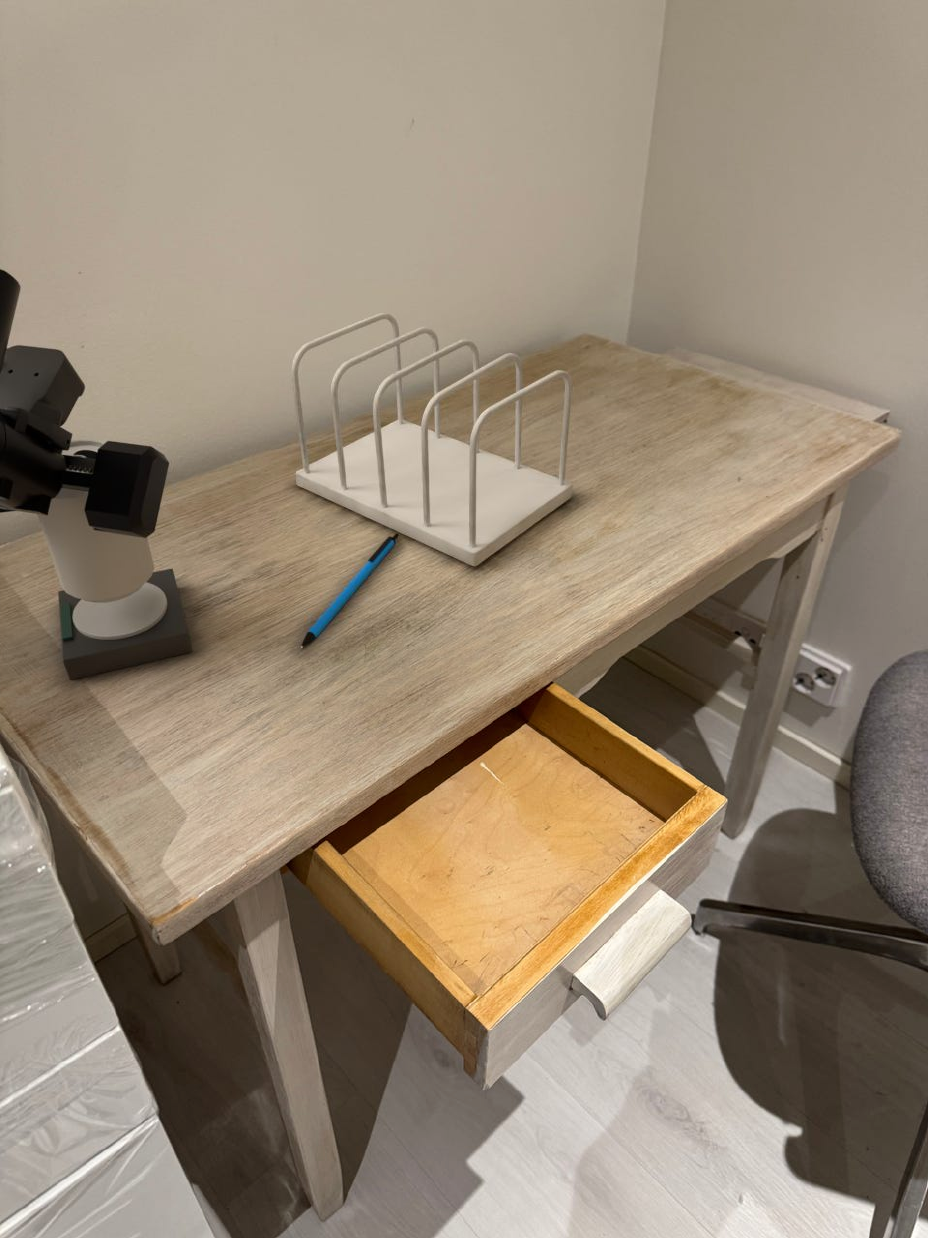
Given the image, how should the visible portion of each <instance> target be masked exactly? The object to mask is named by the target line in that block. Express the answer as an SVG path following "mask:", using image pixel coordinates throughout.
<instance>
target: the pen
mask: <svg viewBox="0 0 928 1238" xmlns="http://www.w3.org/2000/svg"><path fill="white" fill-rule="evenodd" d="M398 537H399V532H396V533H394V534H393V536H391V535H389V536H388V537H387V538H386V539H385V540H383V542H382V543H381V545H380V546H379V547H378V548H377V549H376V550H375V551H374V553H373V554H372V555H371V556H370V557H369V559H368V560H367V562H366V563H365V565H363V567H362V568H361V569H360V570H359V571H358V573H356V575H355V576H354V578H352V579H351V581H350V582H349V583H348V584H347V585H346V586H345V588H344V589H343V590H342V592H340V594H339V595H338V596H337V597H336V598H335V600H334V601H333V602H332V603H331V604H330V605H329V607H328V608H327V609H326V610H325V611H324V612H323V613H322V615H320V617H319V618H318V619H317V620H316V622H315V623H314V624H313V625H312V626H311V627H310V628H309V630H308V631H307V632H306V633H305V636H304V638H303V640H302V642H301V645H300V649H303V648H305V647H306V646H307V645H309V644H311V642H313V641H314V640H316V639H317V638H318V636H319V635H320V634H321V633H322V631H323V630H324V629H325V628H326V627H327V626H328V625H329V623H330V622H331V621H332V620H333V619H334V617H335V616H336V615H337V614H338V612H339V611H340V610H341V609H342V608H343V607H344V606H345V604H346V603H347V602H348V601H349V599H350V598H351V597H352V596H353V595H354V594H355V592H356V591H357V590H358V589H359V588H360V587H361V585H362V584H363V583H364V582H365V581H366V580H367V578H368V577H369V576H370V575H371V573H372V572H374V570H375V569H376V567H378V565H380V563H381V562H382V560H383V559H384V558H385V557H386V555H387V554H388V553H389V552H390V551H391V550H392V548H393V547H394V546H395V545H396V540H397V538H398Z"/></svg>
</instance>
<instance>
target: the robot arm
mask: <svg viewBox="0 0 928 1238" xmlns="http://www.w3.org/2000/svg"><path fill="white" fill-rule="evenodd" d="M21 287H22V286H21V284H20V282H19V281H18V280H17V279H16V278H15V277H14V276H13V275H11V274H10V273H9V272H7V271H6V270H4V269H2V268H0V514H1V513H10V512H11V513H12V512H21V513H27V514H28V513H29V514H35V515H37V514H41V515H48V512H49V508H50V503H51V501H52V499H54V498H55V497H56V496H57V495H58V493H59V492H60V490H61V488H66V489H73V490H80V491H87V492H88V496H87V500H86V505H85V509H84V510H85V514H86V517H87V521H88V524H89V526H91V527H93V530H97V531H103V532H110V533H115V534H122V535H129V536H135V537H142V538H147V539H148V537H149V536H150V535H152V534H154V533H155V531H156V527H157V523H158V518H159V512H160V508H161V502H162V499H163V495H164V494H163V493H164V490H165V485H166V481H167V480H166V479H167V476H168V472H169V467H170V462H169V460H168V458H167V457H166V456H165V454H164V453H163V452H160V451H159V450H158V449H156V448H155V447H153V446H152V445H151V446H150V445H145V444H136V443H128V442H122V441H121V442H120V441H115V440H113V441H112V440H106V441H107V442H106V443H105V444H103V445H102V446H101V447H100V448H99V449H98V451H97V456H96V458H95V459H92V458H84V457H77V456H70V455H62V451H63V450H66V451H68V450H69V448H70V443H71V439H73V432H71V431H68V430H67V429H65V428H63V427H62V426H63V425H65V424H66V422H67V420H68V419H69V416H70V414H71V413H72V411H73V409H74V408H75V405H76V404H77V401H78V400H79V398H80V397H82V396H83V395H84V392H85V389H86V385H85V382H84V381H83V380H82V378H81V377H80V375H79V374H78V372H77V371H76V369H75V367H74V366H73V365H72V363H71V361H70V360H69V359H68V357H67V355H66V354H65V353H64V351H62V350H61V349H56V348H49V347H48V348H47V347H39V346H30V345H20V344H17V345H12V346H10V347H8V345H9V340H10V336H11V332H12V327H13V323H14V319H15V315H16V310H17V306H18V302H19V299H20V293H21ZM67 468H68V470H71V471H67ZM72 469H73V470H74V471H77V470H78V471H79V472H74V471H72ZM82 471H83V472H85V473H81V472H82ZM87 471H88V472H89V473H92V472H93V474H88V473H86V472H87Z"/></svg>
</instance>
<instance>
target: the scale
mask: <svg viewBox="0 0 928 1238" xmlns="http://www.w3.org/2000/svg"><path fill="white" fill-rule="evenodd" d="M176 580H177V579H176V577H175V571H174V568H167V569H162V570H157V571H153V573H152V576H151V577H150V578H149V579H148V580H147V582H146V583H145V584H144V585H143V586H142V587H141V588H140V589H139V590H138V591H137V592H135V593H134V594H132V595H130V596H128V597H126V598H123V599H121V600H117V601H112V602H107V603H94V602H88V601H84V600H82V599H79V598H75V597H73V596H71V595H69V594H67V593H66V592H65V591H64V589H63V590H59V591H58V592H57V598H58V611H59V626H60V639H61V655H62V663H63V666H64V668H65V671H66V673H67V676H68V679H69V680H70V681H73V680H76V679H80V678H81V679H82V678H84V677H90V676H94V675H97V674H102V673H107V672H111V671H114V670H115V671H116V670H119V669H124V668H128V667H133V666H137V665H142V664H145V663H151V662H154V661H155V662H156V661H159V660H163V659H167V658H171V657H176V656H181V655H184V654H190V653H193V647H192V642H191V638H190V633H189V630H188V626H187V621H186V617H185V614H184V609H183V605H182V601H181V597H180V592H179V589H178V584H177V581H176Z"/></svg>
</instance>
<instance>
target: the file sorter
mask: <svg viewBox="0 0 928 1238" xmlns="http://www.w3.org/2000/svg"><path fill="white" fill-rule="evenodd" d="M381 320H387V321H389V323H390V324H391V328H392V333H393V339H391V340H389V341H387V342H384V343H383V344H381V345H378V346H376V347H373V348H372V349H369V350H366V351H365V352H363V353H361V354H359V355H357V356H354V357H352V358H350V359H348V360H346V361H344V362H343V363H342V364H341V365H340V366H339V367H338V368H337V369H336V371H335V372H334V375H333V378H332V380H331V385H330V400H331V401H330V402H331V410H332V411H331V412H332V420H333V429H334V437H335V445H336V450H335V451H333V452H331V453H329V454H328V455H326V456H324V457H322V458H320V459H318V460H316V461H313V462H312V463H310V464H309V455H308V446H307V439H306V431H305V422H304V415H303V406H302V400H301V390H300V381H299V367H300V362H301V360H302V358H303V357H304V356H305V354H306V353H307V352H308V351H310V350H311V349H315V348H316V347H319V346H321V345H323V344H325V343H328V342H330V341H333V340H335V339H338V338H340V337H342V336H345V335H347V334H349V333H352V332H354V331H357V330H359V329H362V328H364V327H367V326H369V325H372V324H374V323H377V322H379V321H381ZM424 334H427V335H428V336H429V337H430V339H431V341H432V350H433V351H432V353H431V354H429V355H427V356H425V357H423V358H421V359H419V360H418V361H416V362H413V363H412V364H409V365H408V366H406V367H404V368H402V363H401V362H402V361H401V360H402V359H401V344H403V343H406V342H407V341H409V340H412V339H414V338H416V337H418V336H421V335H424ZM463 347H468V348H469V349H470V351H471V353H472V372H471V373H469V374H468V375H466V376H464V377H462V378H461V379H459V380H457V381H455V382H454V383H452V384H450V385H449V386H447V387H445V388H443V389H442V390H440V389H441V387H440V386H441V385H440V359H441V358H443V357H445V356H447V355H449V354H451V353H453V352H455V351H457V350H459V349H461V348H463ZM392 348H393V350H394V368H395V369H394V370H395V372H394V373H392V374H391V375H388V376H387V377H386V378H384V380H383V381H382V382H381V383H380V385H379V386H378V388H377V390H376V392H375V395H374V398H373V403H372V418H373V430H374V431H373V432H371V433H369V434H367V435H365V436H362V437H361V438H358V439H356V440H355V441H353V442H351V443H349V444H347V445H345V446H344V445H343V435H342V427H341V419H340V405H339V398H338V397H339V395H338V392H339V391H338V390H339V389H338V388H339V384H340V380H341V379H342V376H343V375H344V374H345V373H346V372H347V371H348V370H349V369H350V368H351V367H354V366H356V365H358V364H361V363H362V362H365V361H367V360H368V359H371V358H374V357H375V356H378V355H379V354H382V353H384V352H386V351H388V350H391V349H392ZM479 353H480V352H479V349H478V347H477V344H475V342H474V341H473V340H470V339H467V338H463V339H460V340H457V341H456V342H453V343H451V344H449V345H447V346H446V347H443V348H441V349H440V345H439V338H438V335H437V333H436V332H435V331H434V330H433V329H432V328H430V327H427V326H421V327H417V328H416V329H413V330H411V331H409V332H407V333H404V334H402V335H400V329H399V323H398V322H397V320H396V318H395V317H394V316H393V315H392V314H389V313H387V312H380V313H377V314H374V315H371V316H369V317H367V318H365V319H361V320H360V321H357V322H355V323H352V324H349V325H346V326H344V327H342V328H340V329H337V330H335V331H332V332H330V333H328V334H325V335H322V336H320V337H318V338H315V339H312V340H309V341H308V342H306V343H305V344H303V345H302V346H301V347H300V348H299V349H298V350H297V351H296V353H295V355H294V357H293V360H292V364H291V373H290V375H291V384H292V392H293V399H294V408H295V416H296V423H297V431H298V439H299V446H300V447H299V448H300V454H301V462H302V468H300V469H299V470H297V471H295V480H296V481H295V483H296V486H298V487H300V488H302V489H304V490H307V491H309V492H310V493H313V494H315V495H317V496H320V497H322V498H323V499H326V500H327V501H330V502H333V503H335V504H337V505H339V506H342V507H344V508H346V509H348V510H351V511H352V512H354V513H357V514H359V515H361V516H363V517H365V518H367V519H370V520H372V521H374V522H376V523H379V524H380V525H383V526H385V527H387V528H389V529H391V530H393V531H396V532H397V533H400V534H402V535H404V536H406V537H409V538H411V539H413V540H416V541H417V542H419V543H421V544H423V545H426V546H428V547H431V548H433V549H434V550H437V551H439V552H441V553H443V554H445V555H448V556H450V557H452V558H453V559H454V558H455V559H456V560H458V561H461V562H463V563H465V564H467V565H468V566H471V567H477V566H478V565H481V564H482V562H484V561H486V559H488V558H489V557H491V556H492V555H494V554H495V553H496V552H497V551H499V550H501V549H502V548H504V547H505V546H506V545H507V544H509V543H510V542H511V541H513V540H514V539H516V538H517V537H518V536H520V535H521V534H523V533H524V532H526V531H527V530H528V529H529V528H530V527H532V526H533V525H535V524H537V522H539V521H541V520H542V519H543V518H544V517H546V516H548V514H550V513H552V512H553V511H555V510H556V509H557V508H558V507H560V506H562V504H564V503H566V502H568V500H570V499H571V498H572V497H573V483H572V482H569V481H566V480H565V477H566V468H567V456H568V444H569V443H568V442H569V433H570V432H569V431H570V419H571V407H572V406H571V405H572V393H573V392H572V391H573V385H572V384H573V383H572V382H573V381H572V378H571V375H570V374H569V372H567V371H565V370H561V369H558V370H555V371H552V372H550V373H549V374H547V375H545V376H544V377H542V378H539V379H538V380H536V381H534V382H533V383H530V384H529V385H527V386H525V387H524V388H523V378H524V377H523V373H524V369H523V363H522V360H521V358H520V357H519V355H517V354H516V353H512V352H507V353H505V354H503V355H501V356H499V357H497V358H495V359H494V360H492V361H491V362H489V363H486V364H485V365H483V366H482V367H480V354H479ZM508 361H512V362H513V363H514V365H515V388H516V389H515V392H514V393H512V394H510V395H509V396H507V397H505V398H503V399H502V400H500V401H497V402H496V403H494V404H493V405H491V406H489V407H488V408H486V409H485V410H484V411H483V412H481V414H480V378H481V377H482V376H484V375H486V374H487V373H490V372H491V371H492V370H495V369H496V368H498V367H500V366H501V365H503V364H505V363H507V362H508ZM431 363H432V364H433V396H432V397H431V399H430V400H429V402H428V403H427V405H426V407H425V409H424V412H423V415H422V418H421V425H418V424H415V423H413V422H411V421H408V420H405V419H404V405H403V382H402V381H403V380H402V379H403V378H404V377H406V376H408V375H410V374H412V373H414V372H416V371H418V370H420V369H421V368H424V367H426V366H427V365H429V364H431ZM560 378H562V379H563V382H564V403H563V414H562V416H563V417H562V427H561V441H560V452H559V453H560V454H559V467H558V477H557V476H554V475H551V474H548V473H546V472H543V471H540V470H538V469H534V468H532V467H529V466H526V465H524V464H521V460H522V459H521V458H522V455H521V453H522V418H523V417H522V416H523V398H524V397H526V396H528V395H530V394H532V393H533V392H535V391H537V390H539V389H540V388H542V387H544V386H546V385H548V384H549V383H551V382H553V381H555V380H557V379H560ZM472 382H473V388H472V389H473V390H472V393H473V394H472V395H473V400H472V401H473V427H472V430H471V433H470V438H469V444H468V443H465V442H463V441H461V440H458V439H455V438H452V437H449V436H447V435H444V434H441V401H442V400H443V399H445V398H446V397H448V396H450V395H452V394H454V393H455V392H457V391H459V390H460V389H462V388H464V387H465V386H467V385H469V384H471V383H472ZM393 383H395V384H396V386H395V387H396V406H397V407H396V408H397V419H396V420H394V421H392V422H391V423H389V424H387V425H385V426H383V427H382V424H381V423H382V422H381V402H382V398H383V396H384V393H385V392H386V390H387V389H388V388H389V386H390V385H392V384H393ZM514 403H515V423H514V425H515V427H514V431H515V433H514V439H515V440H514V441H515V442H514V461H513V460H510V459H508V458H505V457H503V456H500V455H497V454H494V453H492V452H489V451H486V450H485V449H481V448H480V432H481V428H482V427H483V425H484V424H485V422H486V421H487V420H488V419H489V418H490V417H491V416H493V415H495V414H497V412H500V411H501V410H503V409H505V408H507V407H508V406H510V405H513V404H514ZM433 410H434V430H432V429H429V423H430V418H431V415H432V412H433Z"/></svg>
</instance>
